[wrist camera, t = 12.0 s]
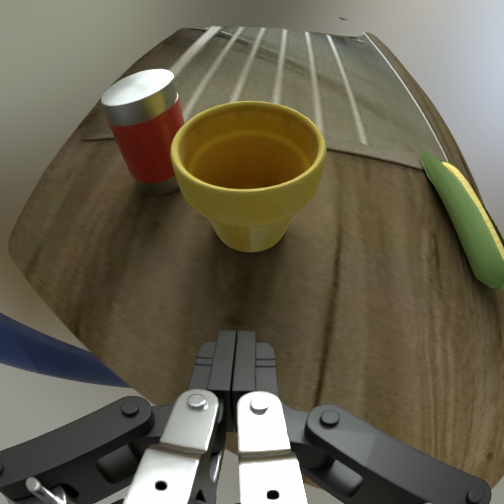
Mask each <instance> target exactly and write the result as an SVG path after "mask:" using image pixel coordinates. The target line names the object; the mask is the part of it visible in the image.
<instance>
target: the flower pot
mask: <svg viewBox="0 0 504 504" xmlns="http://www.w3.org/2000/svg"><path fill="white" fill-rule="evenodd" d="M170 157H171V162H172V166H173V169H174V173H175V176H176V179H177V182H178V184H179V187H180V189H181V192H182V194H183V196H184V198H185V199H186V201H187V202H188V204H189V205H190V206H191V207H192V208H193V209H194V210H195V211H197V212H198V213H199V214H201V215H203V216H204V217H206V219H207V220H208V222H209V223H210V225H211V226H212V228H213V229H214V231H215V233H216V234H217V235H218V237H219V238H220V240H221V241H222V242H223V243H224V244H226V245H227V246H229V247H230V248H232V249H235V250H238V251H241V252H251V253H252V252H260V251H264V250H266V249H269V248H271V247H272V246H274V245H275V244H276V243H278V242H279V241H280V240H281V238H282V237H283V235H284V234H285V232H286V230H287V228H288V226H289V225H290V223H291V221H292V219H293V217H294V216H295V214H296V213H297V212H298V211H300V210H301V209H302V208H304V207H305V206H306V205H307V204H308V203H309V201H310V200H311V199H312V197H313V196H314V194H315V192H316V190H317V187H318V184H319V181H320V178H321V175H322V171H323V167H324V163H325V158H326V144H325V140H324V137H323V135H322V133H321V132H320V130H319V129H318V127H317V126H316V125H315V124H314V123H313V122H312V121H311V120H310V119H309V118H307V117H306V116H304V115H303V114H301V113H299V112H297V111H295V110H293V109H291V108H288V107H285V106H282V105H279V104H274V103H269V102H261V101H241V102H232V103H227V104H222V105H219V106H215V107H213V108H210V109H207V110H205V111H203V112H201V113H199V114H197V115H196V116H194V117H193V118H191V119H190V120H189V121H187V122H186V123H185V124H184V125H183V126H182V127H181V128H180V129H179V131H178V132H177V133H176V135H175V137H174V139H173V141H172V144H171V149H170Z"/></svg>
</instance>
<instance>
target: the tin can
mask: <svg viewBox="0 0 504 504" xmlns="http://www.w3.org/2000/svg"><path fill="white" fill-rule="evenodd" d="M101 103H102V106H103V108H104V111H105V113H106V116H107V121H108V123H109V126H110V128H111V130H112V133H113V135H114V137H115V140H116V142H117V144H118V147H119V149H120V151H121V153H122V156H123V158H124V160H125V162H126V164H127V166H128V169H129V171H130V173H131V175H132V176H133V178H134V179H135V181H136V183H137V186H138V188H139V189H140V190H141V191H142V192H143V193H145V194H147V195H151V196H162V195H167V194H170V193H173V192H175V191H177V190H178V189H180V187H179V184H178V182H177V179H176V176H175V173H174V169H173V166H172V162H171V157H170V149H171V144H172V141H173V139H174V137H175V135H176V133H177V132H178V131H179V129H180V128H181V127H182V126H183V125H184V120H183V115H182V110H181V106H180V101H179V96H178V93H177V91H176V87H175V82H174V77H173V74H172V73H171V72H170V71H168V70H163V69H154V70H147V71H142V72H139V73H136V74H133V75H130V76H128V77H126V78H124V79H122V80H120V81H118V82H117V83H115V84H114V85H112V86H111V87H110V88H108V89H107V90H106V91H105V93H104V94H103V95H102V98H101Z"/></svg>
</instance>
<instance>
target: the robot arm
mask: <svg viewBox="0 0 504 504" xmlns="http://www.w3.org/2000/svg"><path fill="white" fill-rule="evenodd" d="M233 427H235V432H238V450H239V477H240V497H241V503H237V504H307V499H306V495H305V490H304V486H303V481H302V477H301V472H302V473H303V474H304V475H305V476H307V477H308V478H309V479H311V480H312V481H313V482H315V483H316V484H317V485H319V486H320V487H321V488H323V489H324V490H325V491H327V492H328V493H330V494H331V495H332V496H334V497H335V498H337V499H338V500H340V501H341V502H343V503H344V504H489V503H490V500H491V488H490V486H489V484H488V483H487V482H486V481H484V480H483V479H480V478H478V477H475V476H473V475H470V474H468V473H466V472H463V471H461V470H459V469H456V468H454V467H452V466H450V465H447V464H445V463H443V462H441V461H439V460H437V459H435V458H433V457H430V456H428V455H426V454H424V453H422V452H420V451H418V450H416V449H414V448H413V447H411V446H409V445H407V444H405V443H403V442H401V441H399V440H397V439H396V438H394V437H392V436H390V435H388V434H386V433H385V432H383V431H381V430H379V429H378V428H376V427H374V426H372V425H371V424H369V423H367V422H366V421H364V420H362V419H361V418H359V417H357V416H356V415H354V414H352V413H351V412H349V411H347V410H346V409H344V408H342V407H340V406H338V405H334V404H323V405H319V406H316V407H315V408H313V409H312V410H311V411H310V412H307V411H301V410H296V409H293V408H291V407H289V406H287V405H286V404H284V403H283V402H282V400H281V399H280V397H279V393H278V382H277V372H276V361H275V350H274V349H273V347H272V346H271V345H270V344H269V342H256V331H255V330H238V336H237V330H219V332H218V337H217V342H212V341H206V342H205V343H204V344H203V345H202V346H201V347H200V348H199V350H198V354H197V358H196V360H195V365H194V367H193V371H192V374H191V378H190V381H189V385H188V388H187V391H186V392H184V393H182V394H181V395H180V396H179V397H178V398H177V400H176V402H175V403H172V404H168V405H161V406H152V407H151V405H150V403H149V402H148V401H147V400H146V399H144V398H142V397H138V396H127V397H123V398H121V399H119V400H117V401H115V402H113V403H111V404H109V405H107V406H105V407H103V408H101V409H99V410H97V411H95V412H92V413H91V414H88V415H86V416H84V417H82V418H80V419H78V420H75V421H73V422H71V423H69V424H67V425H64V426H62V427H60V428H58V429H55V430H53V431H51V432H48V433H46V434H43V435H41V436H39V437H36V438H34V439H32V440H29V441H26V442H24V443H21V444H18V445H16V446H13V447H10V448H8V449H5V450H2V451H0V492H1V493H2V494H3V495H4V496H5V497H6V498H7V500H8V503H9V504H94V503H96V502H98V501H100V500H102V499H104V498H106V497H108V496H110V495H112V494H114V493H116V492H118V491H120V490H121V489H123V488H125V487H127V486H129V485H130V487H129V489H128V492H127V494H126V496H125V498H123V499H120V500H118V501H116V502H114V503H112V504H216V490H217V484H218V479H219V474H220V469H221V464H222V459H223V455H224V450H225V446H224V445H225V441H226V432H233ZM300 471H301V472H300Z"/></svg>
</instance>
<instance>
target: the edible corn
mask: <svg viewBox="0 0 504 504" xmlns="http://www.w3.org/2000/svg"><path fill="white" fill-rule="evenodd" d="M420 156H421V162H422V164H423V167H424V170H425V171H426V174H427V176H428V178H429V179H430V181H431V182H432V184H433V186H434V187H435V189H436V191H437V193H438V194H439V196H440V198H441V200H442V202H443V204H444V206H445V208H446V210H447V213H448V215H449V217H450V219H451V221H452V224H453V226H454V228H455V231H456V233H457V235H458V238H459V240H460V243H461V245H462V248H463V250H464V253H465V255H466V257H467V260H468V262H469V265H470V267H471V269H472V271H473V274H474V276H475V278H476V279H477V280H478V281H480V282H481V283H482V284H483V285H485V286H487V287H489V288H492V289H497V288H499V291H501V290H503V289H504V239H503V237H502V235H501V233H500V232H499V230H498V228H497V226H496V225H495V223H494V221H493V220H492V219H491V216H490V215H489V213H488V211H487V210H486V208H485V207H484V205H483V204H482V202H481V201H480V199H479V198H478V196H477V195H476V193H475V192H474V191H473V189H472V188H471V186H470V185H469V183H468V181H467V180H466V179H465V178H464V176H463V175H462V174H461V173H460V171H459V170H458V169H457V168H456V167H455V165H454V164H453V163H452V162H451V161H448V163H445V162H443V161H441V160H438V159H436V158H435V157H433V156H432V155H431V154H429V153H428V152H423V151H420Z"/></svg>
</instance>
